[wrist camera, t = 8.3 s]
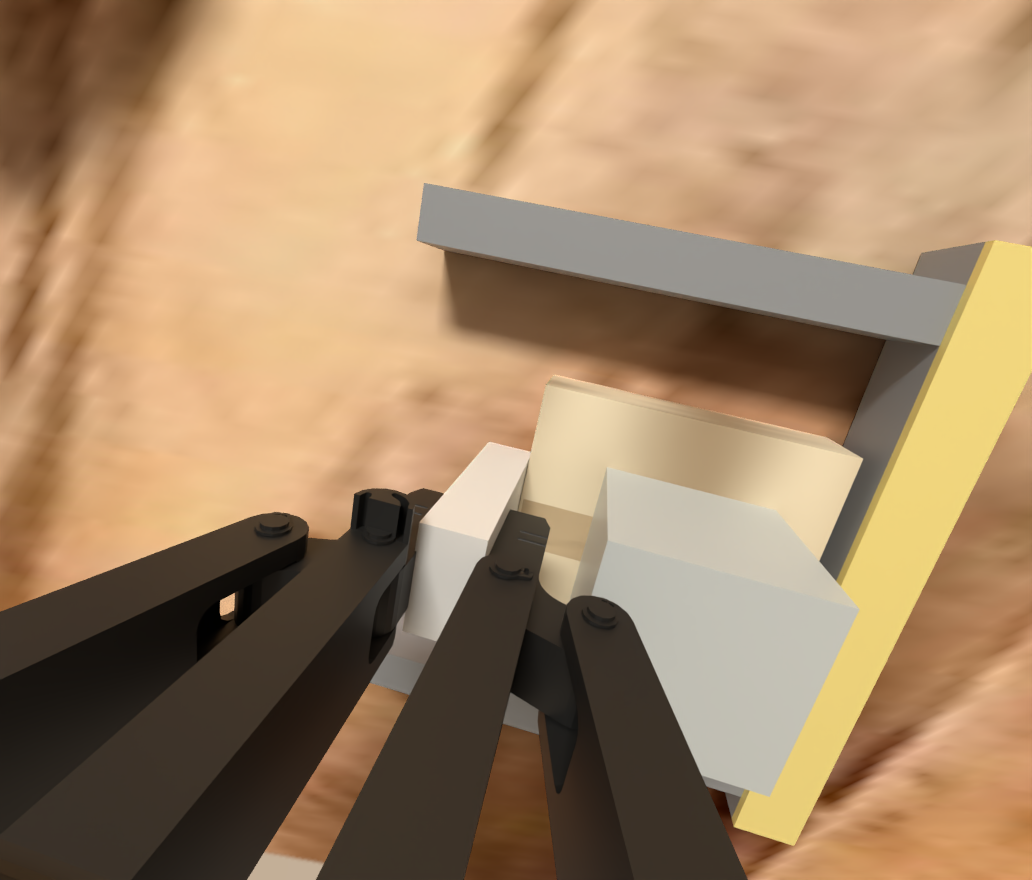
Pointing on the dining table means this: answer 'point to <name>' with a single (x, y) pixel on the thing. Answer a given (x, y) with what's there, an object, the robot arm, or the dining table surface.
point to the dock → (873, 434)
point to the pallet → (670, 466)
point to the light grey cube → (719, 617)
